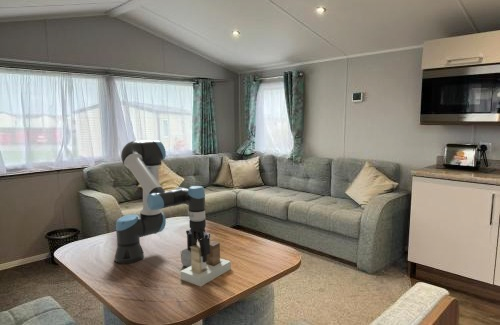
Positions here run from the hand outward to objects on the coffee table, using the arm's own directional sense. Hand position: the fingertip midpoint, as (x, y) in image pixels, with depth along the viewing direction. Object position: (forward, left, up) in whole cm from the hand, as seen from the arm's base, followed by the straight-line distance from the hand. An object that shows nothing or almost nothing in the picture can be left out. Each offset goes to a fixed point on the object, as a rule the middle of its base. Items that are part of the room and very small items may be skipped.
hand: (199, 266), depth 160 cm
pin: (0, 0, -3) cm, 3 cm away
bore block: (0, +5, -6) cm, 7 cm away
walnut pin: (0, +10, -6) cm, 11 cm away
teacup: (-13, +9, -6) cm, 17 cm away
